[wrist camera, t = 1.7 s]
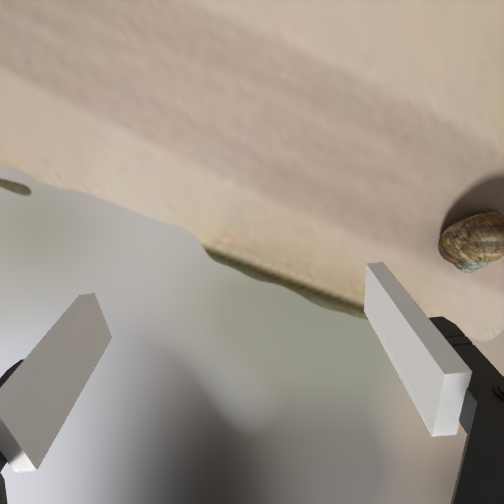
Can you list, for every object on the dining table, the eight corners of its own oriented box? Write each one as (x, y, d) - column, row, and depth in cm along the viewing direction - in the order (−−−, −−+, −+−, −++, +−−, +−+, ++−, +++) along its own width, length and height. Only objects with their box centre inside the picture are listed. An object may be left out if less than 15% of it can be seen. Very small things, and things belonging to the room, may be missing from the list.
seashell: (426, 259, 56) (452, 283, 49) (435, 208, 52) (465, 226, 45) (491, 254, 56) (527, 278, 48) (505, 203, 52) (547, 220, 44)
